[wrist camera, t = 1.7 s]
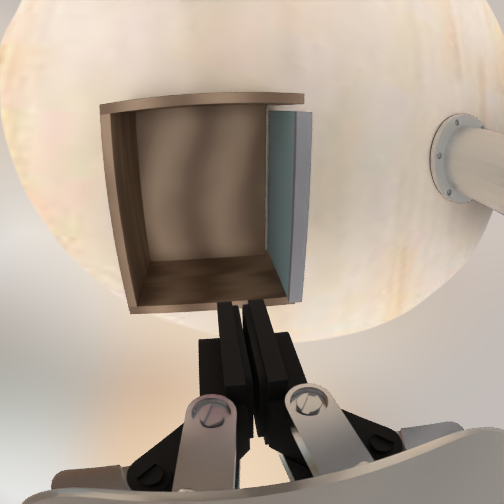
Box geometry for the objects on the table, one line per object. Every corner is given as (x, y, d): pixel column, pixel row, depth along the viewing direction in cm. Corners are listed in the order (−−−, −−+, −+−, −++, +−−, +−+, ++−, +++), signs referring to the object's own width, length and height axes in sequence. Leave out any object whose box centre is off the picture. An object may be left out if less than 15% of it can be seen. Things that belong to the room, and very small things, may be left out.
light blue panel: (279, 110, 30) (312, 112, 20) (276, 249, 36) (301, 301, 27) (268, 110, 30) (296, 111, 20) (267, 249, 36) (289, 302, 27)
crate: (276, 97, 30) (304, 93, 21) (273, 255, 38) (294, 303, 29) (130, 105, 28) (99, 104, 19) (146, 263, 36) (130, 314, 27)
